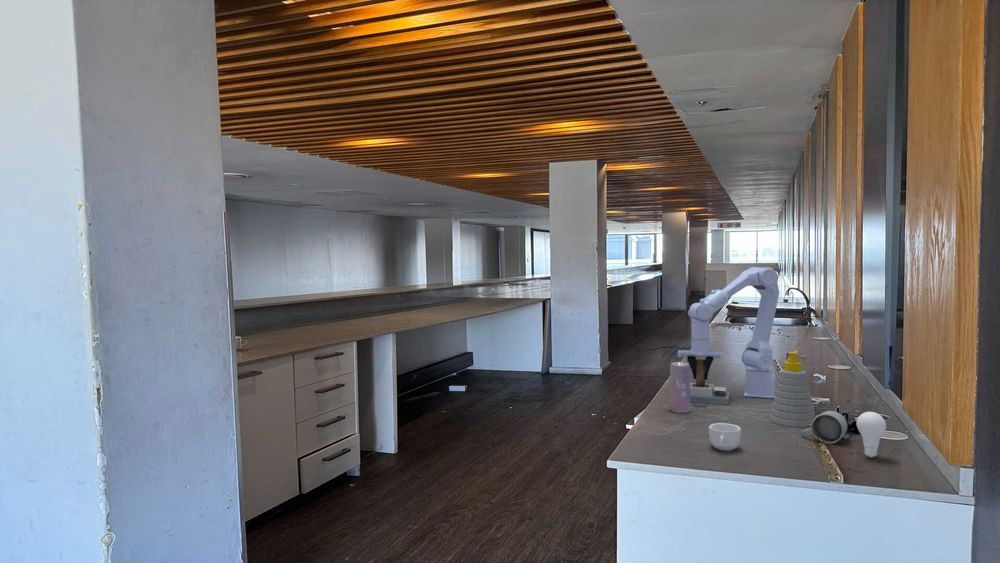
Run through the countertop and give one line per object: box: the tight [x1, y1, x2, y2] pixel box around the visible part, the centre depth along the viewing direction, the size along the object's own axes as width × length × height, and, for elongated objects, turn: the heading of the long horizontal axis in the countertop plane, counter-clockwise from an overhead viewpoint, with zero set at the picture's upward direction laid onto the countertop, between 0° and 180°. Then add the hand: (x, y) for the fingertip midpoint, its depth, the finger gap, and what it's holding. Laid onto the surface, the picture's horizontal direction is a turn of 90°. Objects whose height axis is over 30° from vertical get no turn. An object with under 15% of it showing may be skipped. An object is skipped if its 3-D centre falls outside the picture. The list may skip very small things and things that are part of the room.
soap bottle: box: [769, 350, 816, 428], centre depth 183 cm, size 12×12×20 cm
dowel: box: [695, 358, 706, 387], centre depth 211 cm, size 3×3×9 cm
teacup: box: [708, 422, 742, 452], centre depth 159 cm, size 10×8×5 cm
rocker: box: [714, 386, 728, 392], centre depth 210 cm, size 4×7×1 cm, turn 157°
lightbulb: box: [856, 411, 887, 458], centre depth 151 cm, size 6×6×11 cm
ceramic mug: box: [800, 410, 848, 444], centre depth 166 cm, size 11×8×8 cm
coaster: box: [692, 402, 708, 408], centre depth 204 cm, size 5×5×1 cm
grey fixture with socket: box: [690, 382, 731, 406], centre depth 211 cm, size 13×11×5 cm
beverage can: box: [669, 361, 691, 414], centre depth 197 cm, size 6×6×15 cm
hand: (700, 378), depth 212 cm, fingers closed on dowel, 3 cm apart
